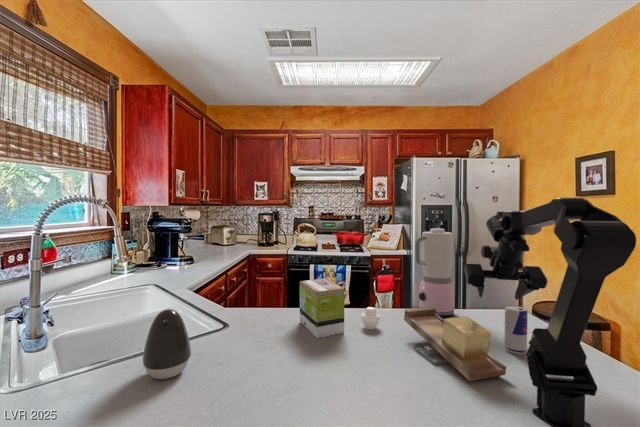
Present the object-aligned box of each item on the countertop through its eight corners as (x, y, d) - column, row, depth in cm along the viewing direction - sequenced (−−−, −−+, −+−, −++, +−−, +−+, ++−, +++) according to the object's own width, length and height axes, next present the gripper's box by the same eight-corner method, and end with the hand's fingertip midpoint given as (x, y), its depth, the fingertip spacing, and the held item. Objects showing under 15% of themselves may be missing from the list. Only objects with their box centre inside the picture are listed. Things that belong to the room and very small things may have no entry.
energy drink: (530, 356, 84) (531, 311, 84) (508, 354, 85) (509, 310, 85) (521, 347, 89) (522, 305, 89) (501, 345, 90) (501, 304, 90)
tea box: (298, 322, 107) (298, 280, 107) (324, 318, 112) (324, 277, 111) (316, 339, 94) (316, 290, 94) (345, 334, 98) (345, 287, 98)
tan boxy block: (487, 359, 76) (491, 332, 75) (463, 362, 74) (466, 335, 73) (463, 340, 83) (467, 316, 82) (441, 343, 81) (444, 318, 80)
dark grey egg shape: (136, 389, 67) (136, 319, 67) (149, 365, 77) (149, 305, 77) (187, 382, 70) (187, 315, 70) (193, 360, 80) (193, 301, 80)
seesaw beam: (505, 374, 72) (507, 361, 72) (469, 380, 70) (471, 366, 69) (431, 317, 99) (433, 306, 98) (404, 320, 96) (405, 309, 96)
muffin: (379, 324, 106) (379, 304, 106) (380, 331, 100) (380, 310, 100) (361, 323, 107) (361, 303, 107) (361, 330, 101) (361, 309, 101)
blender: (439, 306, 126) (440, 227, 126) (461, 316, 114) (462, 229, 114) (405, 310, 121) (406, 228, 121) (425, 321, 110) (426, 230, 109)
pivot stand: (479, 358, 82) (480, 348, 82) (434, 365, 79) (434, 355, 79) (458, 345, 90) (458, 336, 90) (416, 351, 86) (416, 342, 86)
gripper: (538, 236, 84) (524, 278, 92) (463, 234, 88) (457, 275, 96) (556, 264, 75) (539, 308, 83) (472, 260, 79) (464, 303, 87)
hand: (497, 297), depth 88 cm, fingers open, 9 cm apart
